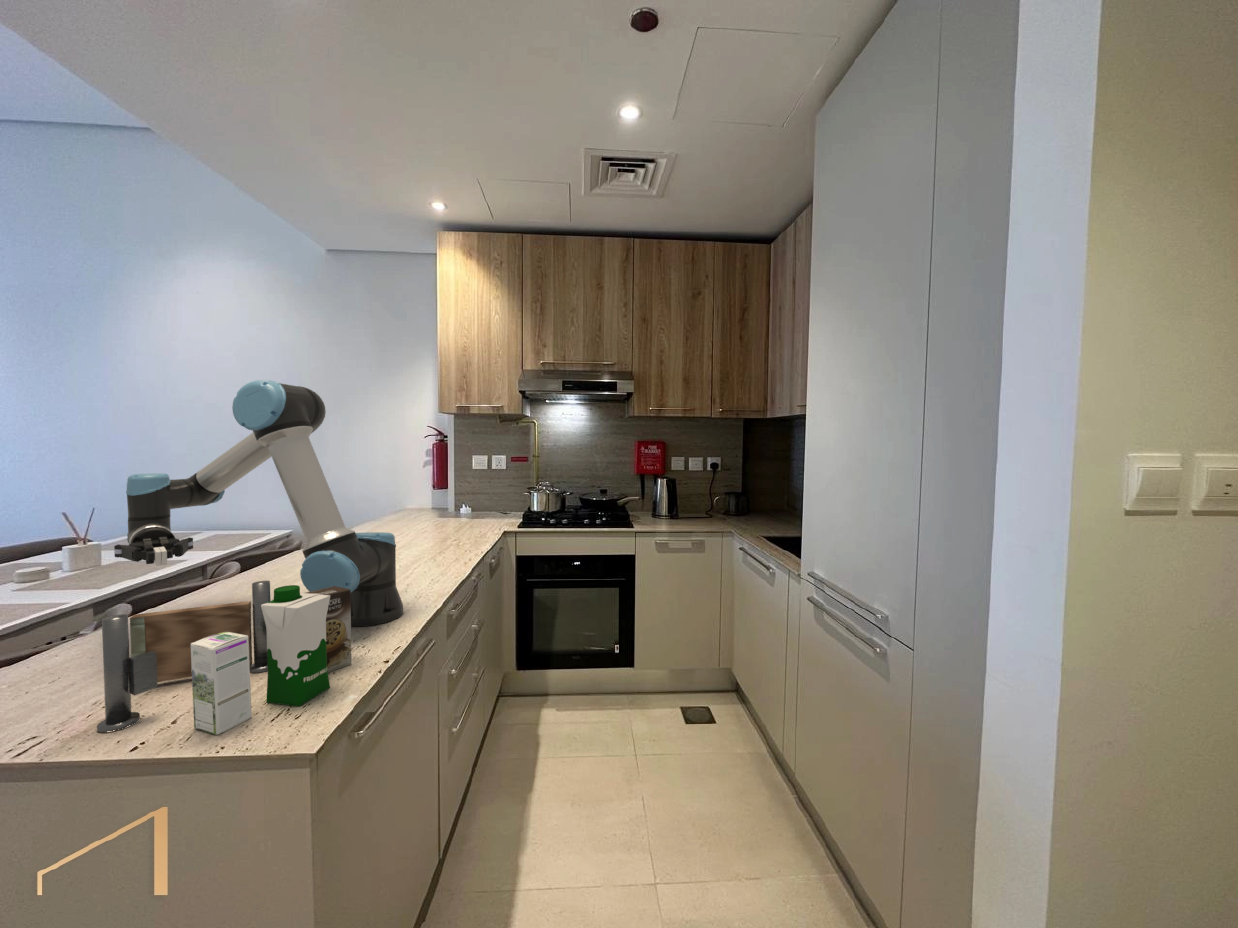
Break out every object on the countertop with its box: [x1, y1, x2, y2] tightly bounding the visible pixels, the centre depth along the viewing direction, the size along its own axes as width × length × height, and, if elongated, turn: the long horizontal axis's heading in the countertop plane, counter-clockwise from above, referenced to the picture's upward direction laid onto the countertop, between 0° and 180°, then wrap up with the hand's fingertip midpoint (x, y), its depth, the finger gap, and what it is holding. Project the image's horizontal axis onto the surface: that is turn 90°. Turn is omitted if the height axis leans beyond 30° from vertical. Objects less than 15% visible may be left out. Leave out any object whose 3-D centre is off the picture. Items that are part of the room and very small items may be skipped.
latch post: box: [96, 613, 159, 732], centre depth 81 cm, size 6×5×18 cm
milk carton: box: [261, 584, 331, 707], centre depth 90 cm, size 9×9×20 cm
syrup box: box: [191, 632, 253, 736], centre depth 81 cm, size 6×6×14 cm
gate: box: [129, 600, 253, 683], centre depth 96 cm, size 18×2×13 cm, turn 117°
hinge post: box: [250, 580, 271, 674], centre depth 101 cm, size 5×5×18 cm
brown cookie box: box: [305, 586, 352, 673], centre depth 101 cm, size 9×6×16 cm
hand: (161, 558), depth 97 cm, fingers closed
